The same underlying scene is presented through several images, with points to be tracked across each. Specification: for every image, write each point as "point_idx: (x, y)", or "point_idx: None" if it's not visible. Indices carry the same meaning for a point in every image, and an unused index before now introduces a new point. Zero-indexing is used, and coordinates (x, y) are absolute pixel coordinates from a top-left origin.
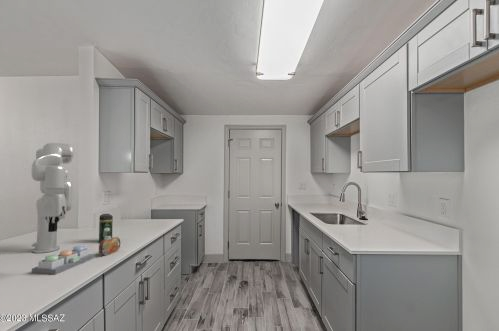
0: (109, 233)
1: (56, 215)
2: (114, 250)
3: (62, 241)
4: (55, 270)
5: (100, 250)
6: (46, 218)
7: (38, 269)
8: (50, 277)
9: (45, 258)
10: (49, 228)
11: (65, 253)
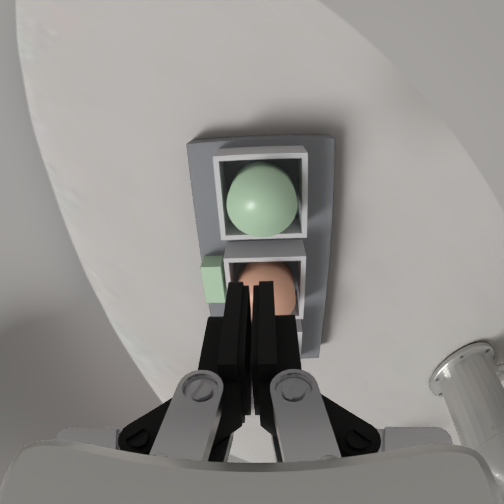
0: None
1: (33, 448)
2: None
3: (453, 422)
4: (188, 143)
5: None
6: (353, 438)
7: (293, 138)
8: (179, 103)
9: (274, 172)
10: (259, 308)
11: (247, 279)
